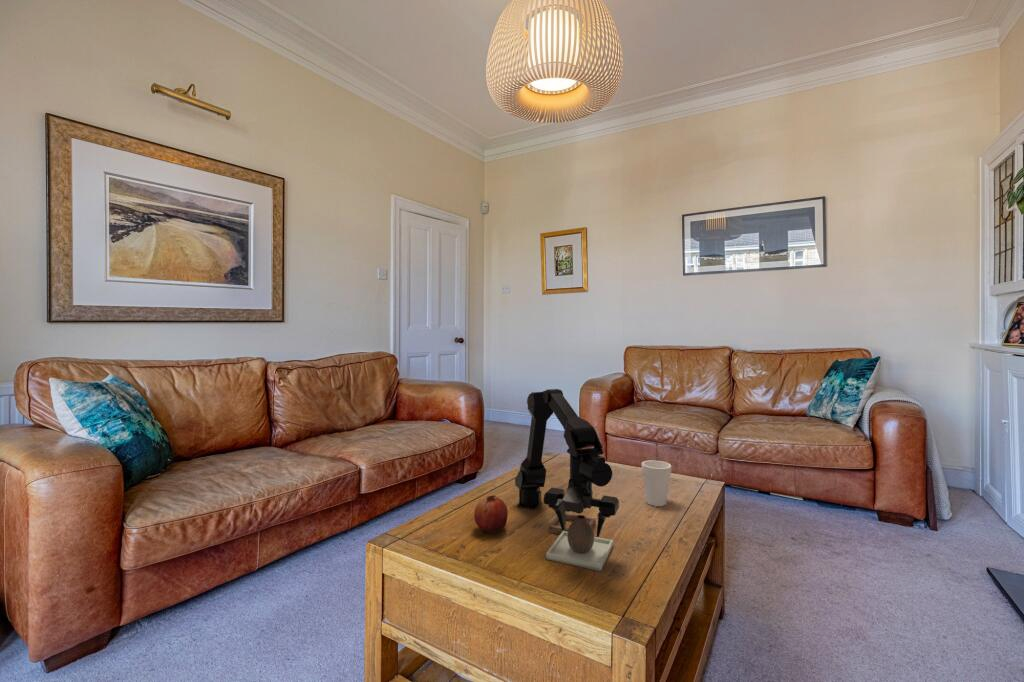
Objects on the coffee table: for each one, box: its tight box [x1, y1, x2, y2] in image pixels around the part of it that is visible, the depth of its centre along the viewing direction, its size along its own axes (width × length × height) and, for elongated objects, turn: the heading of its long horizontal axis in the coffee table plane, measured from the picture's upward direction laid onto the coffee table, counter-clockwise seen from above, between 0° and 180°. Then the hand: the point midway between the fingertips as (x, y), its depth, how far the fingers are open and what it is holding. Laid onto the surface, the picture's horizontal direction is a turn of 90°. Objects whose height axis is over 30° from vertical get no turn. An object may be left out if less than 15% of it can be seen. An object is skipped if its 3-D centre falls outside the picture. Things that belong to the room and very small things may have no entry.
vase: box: [567, 514, 595, 553], centre depth 117 cm, size 7×7×9 cm
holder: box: [548, 512, 597, 536], centre depth 132 cm, size 11×11×2 cm
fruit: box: [473, 495, 509, 533], centre depth 130 cm, size 11×10×10 cm
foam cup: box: [641, 459, 672, 507], centre depth 151 cm, size 10×9×13 cm
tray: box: [545, 531, 614, 572], centre depth 117 cm, size 14×14×2 cm
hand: (580, 533), depth 117 cm, fingers open, 9 cm apart
